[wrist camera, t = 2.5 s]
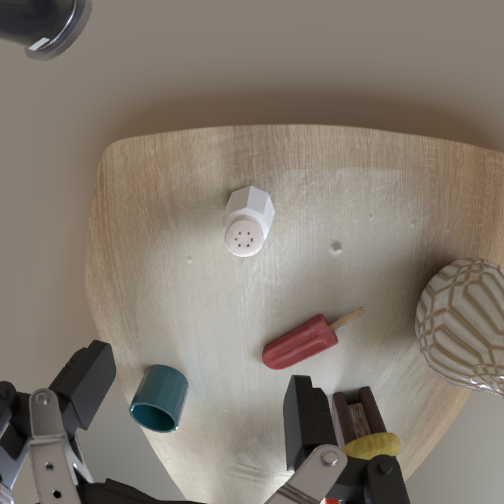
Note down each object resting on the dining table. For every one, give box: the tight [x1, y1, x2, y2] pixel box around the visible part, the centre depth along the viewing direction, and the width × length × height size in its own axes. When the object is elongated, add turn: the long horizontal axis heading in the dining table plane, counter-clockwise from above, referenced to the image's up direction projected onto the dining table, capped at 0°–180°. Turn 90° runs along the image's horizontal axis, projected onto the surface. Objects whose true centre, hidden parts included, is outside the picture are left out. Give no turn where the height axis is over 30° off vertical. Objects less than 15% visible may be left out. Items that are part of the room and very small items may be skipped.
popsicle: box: [262, 307, 365, 370], centre depth 35 cm, size 4×2×15 cm
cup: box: [129, 365, 189, 433], centre depth 36 cm, size 7×7×8 cm
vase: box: [415, 258, 504, 399], centre depth 24 cm, size 16×16×20 cm
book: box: [332, 386, 410, 504], centre depth 30 cm, size 22×8×25 cm, turn 9°
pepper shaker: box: [223, 185, 275, 257], centre depth 25 cm, size 5×5×11 cm
